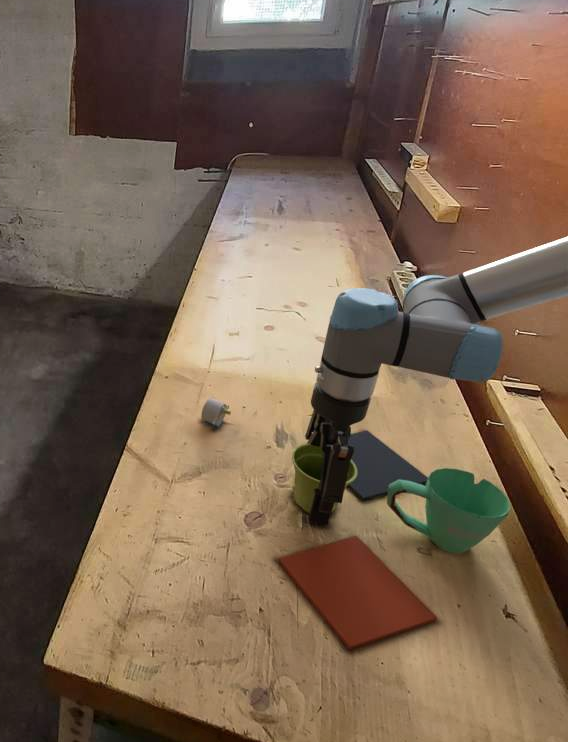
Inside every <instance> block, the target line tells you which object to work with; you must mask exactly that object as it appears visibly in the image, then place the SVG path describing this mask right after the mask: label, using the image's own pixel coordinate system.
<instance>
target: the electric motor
mask: <svg viewBox="0 0 568 742" xmlns="http://www.w3.org/2000/svg"><path fill="white" fill-rule="evenodd" d="M229 409H230V405H229V404H228V405H227V403H224V402H221V401H219V400H217V399H214V398H212V397H210V398H208V399H207V400H206V401H205V403H204V404H203V406H202V410H201V415H200V416H201V419H202V420H203V421H204V424H206V425H209V426H211V427H214V428H215V429H219V428H220V426H222V424H223V423H224V419H225V417H226V415H228V416H230V415H231V413H232V411H231V410H229Z"/></svg>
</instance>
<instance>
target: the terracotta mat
mask: <svg viewBox="0 0 568 742" xmlns="http://www.w3.org/2000/svg"><path fill="white" fill-rule="evenodd" d="M277 561H278V563H279V564H280V565H281V566H282V568H283V569H284V571H286V573H287V574H288V575H289V576H290V578H291V579H292V580H293V581H294V583H295V584H296V585H297V587H298V588H299V589H300V590H301V592H302V593H303V594H304V595H305V596H306V598H307V599H308V600H309V601H310V603H311V605H313V606H314V608H315V609H316V610H317V612H318V613H319V614H320V615H321V616H322V618H323V619H324V620H325V622H326V623H327V624H328V626H329V627H330V628H331V629H332V630H333V632H334V633H335V634H336V636H337V637H338V638H339V639H340V641H341V642H342V643H343V644H344V645H345V647H346V648H347V649H348V650H351V649H355V648H357V647H361V646H364V645H367V644H369V643H372V642H375V641H379V640H381V639H385V638H387V637H390V636H393V635H396V634H400V633H403V632H405V631H408V630H411V629H414V628H417V627H420V626H423V625H426V624H429V623H432V622H435V621H437V619H438V616H436V614H435V613H434V612H432V610H431V609H430V608H428V607H427V605H426V604H424V602H423V601H421V599H420V598H419V597H418V596H417V595H416V594H415V593H414V592H413V591H412V590H411V589H410V588H409V587H408V586H407V585H406V584H405V583H404V582H403V581H402V580H401V579H400V578H399V577H398V576H397V575H396V574H395V573H394V572H393V571H392V570H391V569H390V568H389V567H388V566H387V565H386V564H385V563H384V562H383V561H382V560H381V559H380V558H379V557H378V556H377V555H376V554H375V553H374V552H373V551H372V550H371V549H370V547H368V546H367V545H366V544H365V543H364V542H363V541H362V540H361V539H360V538H359V537H358V536H357V535H354V536H351V537H348V538H344V539H341V540H337V541H334V542H331V543H327V544H323V545H319V546H316V547H313V548H309V549H306V550H302V551H299V552H295V553H292V554H289V555H288V554H287V555H285V556H281V557H278V559H277Z"/></svg>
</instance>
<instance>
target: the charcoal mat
mask: <svg viewBox="0 0 568 742" xmlns="http://www.w3.org/2000/svg"><path fill="white" fill-rule="evenodd" d="M327 445H328V446H333V445H329V444H327ZM348 446H353V447H354V453H353V456H352V458H351V460H352V461H353V462H354V464H355V465H356V468H357V477H356V479H355V480H354V481H353V482H351V483H350V484H349V485H348V486H347V487H348V488H349V490H351V491H352V492H353V493H354V494H355V495H356V496H357V497H359V498H360V499H361V500H362V501H366V500H369V499H373V498H377V497H381V496H385V495H388V486H389V485H390V484H391V483H393V482H395V481H397V480H399V479H400V480H406V481H411V482H414V483H418V484H421V485H426V483H427V479H428V477H429V476H426V475H425V474H424V473H423V472H421V471H420V470H419V469H417V468H416V467H415V466H414V465H412V464H411V463H410V462H408V461H407V460H406V459H404V458H403V457H402V456H401V455H400V454H398V453H397V452H395V451H394V450H393V449H392V448H390V447H389V446H388V445H386V444H385V443H384V442H383V441H382V440H380V438H378V437H376V436H375V435H374V434H372V433H371V432H370V431H369V430H363V431H362V430H361V431H359V432H354V433H351V435H350V438H349V439H348Z"/></svg>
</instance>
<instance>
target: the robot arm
mask: <svg viewBox="0 0 568 742" xmlns="http://www.w3.org/2000/svg"><path fill="white" fill-rule="evenodd" d="M566 297H568V236H565V237H562V238H559V239H556V240H554V241H551V242H548V243H545V244H542V245H539V246H536V247H532V248H529V249H527V250H525V251H522V252H519V253H516V254H513V255H510V256H507V257H504V258H501V259H498V260H496V261H493V262H491V263H490V262H489V263H487V264H484V265H482V266H479V267H476V268H472V269H470V270H467V271H464V272H461V273H458V274H455V275H452V276H449V277H447V276H444V275H438V274H428V275H424V276H420V277H418V278H416V279H414V280H413V281H412V282H410V283H409V285H408V286H407V287H406V289H405V291H404V294H403V300H402V306H401V307H402V311H399V304H398V301H397V299H396V298H395V297H394V296H392V295H391V294H388V293H386V292H382V291H378V290H377V289H374V288H368V287H367V288H366V287H354V288H348V289H345V290H343V291H342V292H340V293H339V294H338V295H337V297H336V298H335V302H334V305H333V309H332V313H331V315H330V317H329V322H328V325H327V331H326V335H325V338H324V339H325V340H324V344H323V349H322V353H321V358H320V363H319V365H317V366H315V367H314V372H315V373H316V374H317V376H316V381H315V383H314V385H313V389H312V394H311V399H310V405H311V408H312V409H313V411H312V413H311V416H310V419H309V423H308V425H307V429H306V432H305V434H304V437H305V440H307V443H306V444H310V445H313V446H317V447H320V448H321V450H322V451H323V457H322V466H321V476H320V485H319V488H316V489H314V494H315V495H314V499H313V503H312V507H311V510H310V513H308V522H309V523H313V524H319V525H326V526H329V525H328V524H329V522H330V517H331V516H332V515H331V514H332V513H333V512H332V508H333V505H334V502H335V503H337V504H342V503H343V500H344V499H343V498H344V495H345V490H346V488H345V484H346V479H347V474H348V469H349V465H350V460H351V458H352V456H353V453H354V447H353V446H348V439H349V438H350V435H351V434H352V426H353V425H354V424H358V423H360V422H362V421H363V420H364V419H366V416H367V415H368V410H369V406H370V404H371V397H372V395H374V391H375V388H376V385H377V381H378V378H379V374H380V370H381V366H382V365H387V366H392V367H395V368H402V369H407V370H411V371H416V372H420V373H425V374H429V375H433V376H437V377H443V378H446V379H447V378H448V379H450V380H453V381H455V380H459V381H460V380H461V381H467V382H473V383H486V382H487V381H489V380H490V379H492V378H493V376H494V375H495V373H496V371H497V370H498V367H499V365H500V362H501V359H502V354H503V347H504V345H503V344H504V343H503V342H504V341H503V337H502V334H501V332H500V331H499V330H498V329H496V328H493V327H489V326H485V325H482V324H480V323H481V322H484V321H487V320H490V319H493V318H496V317H497V318H498V317H501V316H503V315H507V314H510V313H511V314H512V313H514V312H518V311H521V310H524V309H528V308H531V307H534V306H539V305H543V304H545V303H548V302H552V301H555V300H558V299H562V298H566ZM327 444H329V445H333V446H328V445H327ZM344 489H345V490H344ZM331 512H332V513H331Z"/></svg>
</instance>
